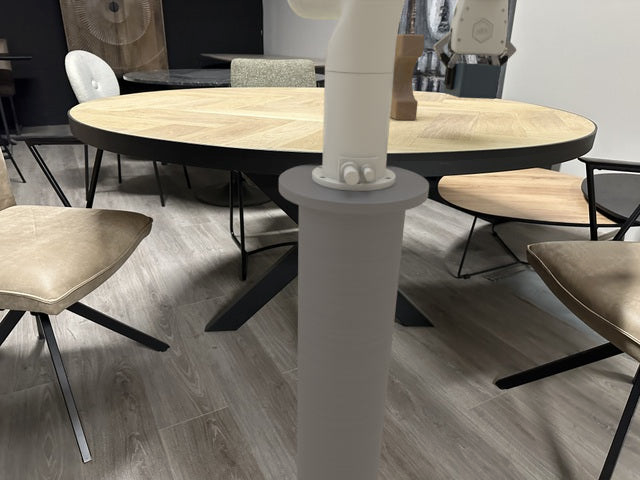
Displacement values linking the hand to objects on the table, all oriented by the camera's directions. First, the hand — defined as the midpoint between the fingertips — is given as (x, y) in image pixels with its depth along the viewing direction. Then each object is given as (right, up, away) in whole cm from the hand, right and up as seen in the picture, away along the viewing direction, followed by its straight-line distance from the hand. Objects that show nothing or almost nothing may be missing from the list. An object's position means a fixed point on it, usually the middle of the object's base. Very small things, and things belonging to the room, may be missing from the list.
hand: (468, 89), depth 94 cm
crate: (0, -1, 0) cm, 1 cm away
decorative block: (-9, +2, +30) cm, 31 cm away
